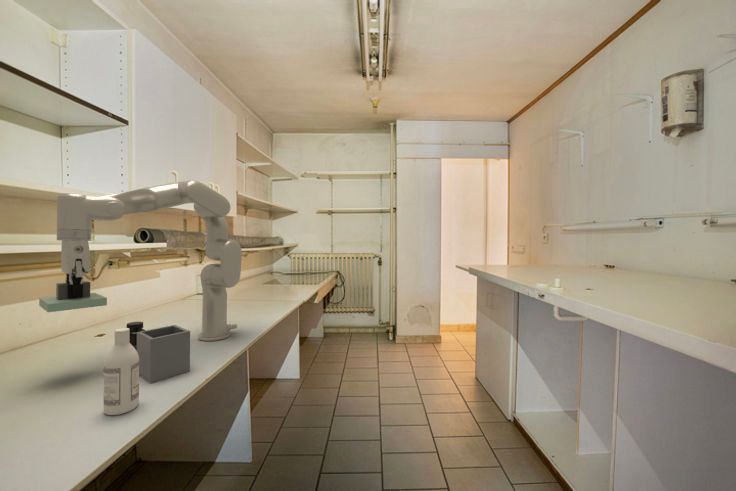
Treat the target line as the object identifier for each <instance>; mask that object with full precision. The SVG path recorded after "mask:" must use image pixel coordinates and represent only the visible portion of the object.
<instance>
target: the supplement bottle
mask: <svg viewBox="0 0 736 491" xmlns="http://www.w3.org/2000/svg"><path fill="white" fill-rule="evenodd" d="M125 328H129V329H130V338H129V343H130V344H131V345H132V346H133V347H134V348H135V349H136V351H137V332H141V331H146V330H145V329H144V322H143V321H131V322H128V323H126V327H125Z"/></svg>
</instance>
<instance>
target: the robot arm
mask: <svg viewBox="0 0 736 491" xmlns="http://www.w3.org/2000/svg"><path fill="white" fill-rule="evenodd" d="M186 204H187V205H188V204H193V209H194V211H195V213H196V214H197V215H198V216H199V217H200V218H201V219H202V220H203V222H204V224H205V226H206V241H205V255H206V258H208V259H209V260H212V261H215V262H216V261H217V262H220V263H209V264H206V265H205V266H203V268H202V269H201V272H200V277H199V278H200V284H201V289H202V309H201V310H202V316H201V318H202V319H201V320H202V321H201V322H202V323H201V326H202V328H201V332H200V333H199V334H198V335H197V339H198V340H199V341H203V342H215V341H220V340H224V339H227V338H229V337H230V336H231V330H235V329H237V328H238V324H237V323H235V324H230V323H229V324H228V321H227V320H228V292H227V289H230V288H233V287H235V286H236V285H237V284H238V283H239V281H240V278H241V274H242V261H243V260H242V255H243V253H242V252H243V251H242V246H241V245H240V243H239V242H238V241H237V240H236V239H235V240H234V239H232V238H229V223H228V222H227V219H226V218H225V217H226V216H228V214H229V213H230V211H231V204H230V201H229V200H228V198H226V197H225V196H224V195H222V194H220V193H219V192H217V191H216V190H214V189H212V188H211V187H210V186H207V185H206V184H204V183H202V182H200V181H198V180H194V179H192V180H186V181H185V180H183V181H177V182H170V183H165V184H160V185H154V186H153V185H152V186H147V187H143V188H138V189H134V190H130V191H125V192H119V193H114V194H113V193H112V194H107V195H102V196H93V195H92V196H91V195H90V196H89V195H85V194H79V193H65V192H64V193H61V194H58V195H57V197H56V241H61V253H60V255H61V256H60V258H61V260H60V264H61V266H60V267H61V271H62V272H63V273H65V283H69V284H70V285H68V298H69V299H71V298H81V297H83V282H84V281H83V280H84V276H83V275H84V274H89V273H91V258H90V257H91V256H90V253H91V252H90V244H89V242H90V241H92V220H93V221H98V222H99V221H117V220H119V219H121V218H122V217H124V216H126V215H130V214H135V213H136V214H137V213H150V212H151V213H152V212H156V211H157V212H158V211H160V210H165V209H169V208H173V207H177V206H182V205H186Z"/></svg>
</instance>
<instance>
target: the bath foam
mask: <svg viewBox="0 0 736 491" xmlns="http://www.w3.org/2000/svg"><path fill="white" fill-rule="evenodd" d="M129 338H130V329H129V328H126V327H121V328H117V329H115V330H114V345H113V346H112V347H111V348H110V350H109V352H108V353H107V355H106V356H105V359H104V364H103V414H105V415H107V416H118V415H123V414H126V413H128V412H131V411H132V410H134V409H135V408H137V406H138V405H139V403H140V400H139V399H140V376H139V356H138V353H137V351H136V349H135V348H134V347H133V346H132V345H131V344H130V343H129Z"/></svg>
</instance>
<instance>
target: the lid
mask: <svg viewBox="0 0 736 491" xmlns="http://www.w3.org/2000/svg"><path fill="white" fill-rule="evenodd" d="M68 285H70V284H69V283H66V282H59V283H56V284H55V286H56V288H55V289H56V296H46V297H44V296H43V297H39V303H38V305H39V307H40V308H41V309H43V310H44V311H45V312H47V313H52V312H55V313H56V312H62V311H69V310H70V311H71V310H80V309H86V308H95V307H97V308H98V307H103V306H104V307H105V306H108V297H106V296H104V295H102V294H98V293H96V292H91V282H90V281H89V280H88V281H83V297H81V298H71V299H69V298H68Z"/></svg>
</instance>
